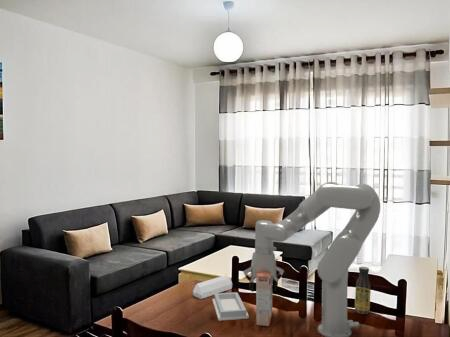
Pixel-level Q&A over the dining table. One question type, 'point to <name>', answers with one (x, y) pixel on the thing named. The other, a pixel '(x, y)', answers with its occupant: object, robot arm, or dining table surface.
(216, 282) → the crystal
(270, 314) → the cracker box
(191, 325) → the dining table surface
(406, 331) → the dining table surface
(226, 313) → the grey rectangular tray
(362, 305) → the sauce bottle
